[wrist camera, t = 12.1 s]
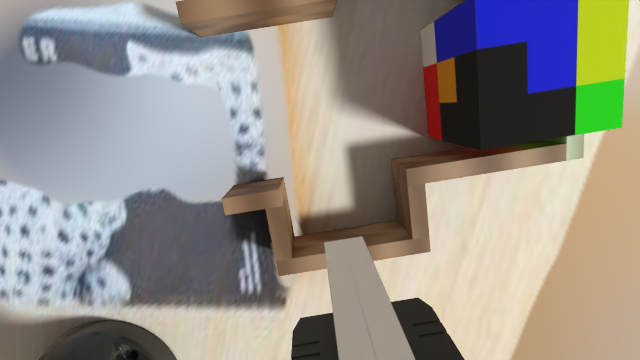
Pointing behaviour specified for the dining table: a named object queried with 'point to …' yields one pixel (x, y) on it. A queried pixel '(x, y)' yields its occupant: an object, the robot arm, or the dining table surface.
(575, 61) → the puzzle toy
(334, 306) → the robot arm
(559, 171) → the dining table surface
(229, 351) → the dining table surface
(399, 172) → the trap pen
